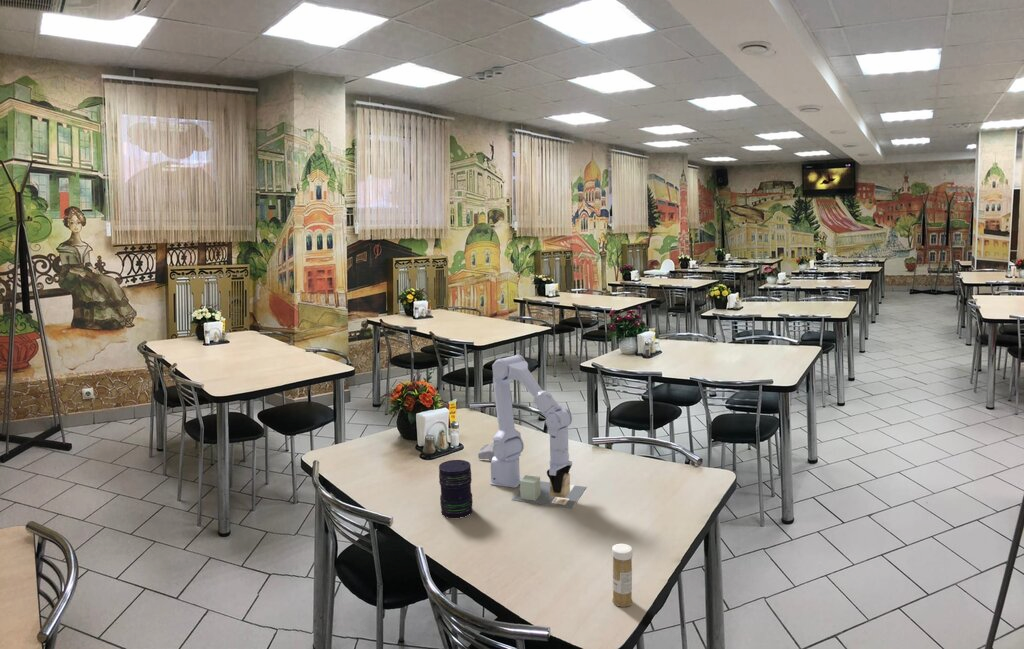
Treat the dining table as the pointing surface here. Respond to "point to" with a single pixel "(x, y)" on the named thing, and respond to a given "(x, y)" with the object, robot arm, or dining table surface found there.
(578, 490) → the slate mat
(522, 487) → the sage block
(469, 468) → the storage jar
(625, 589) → the sprinkles bottle
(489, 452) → the stone block
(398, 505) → the dining table surface
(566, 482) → the maple block
